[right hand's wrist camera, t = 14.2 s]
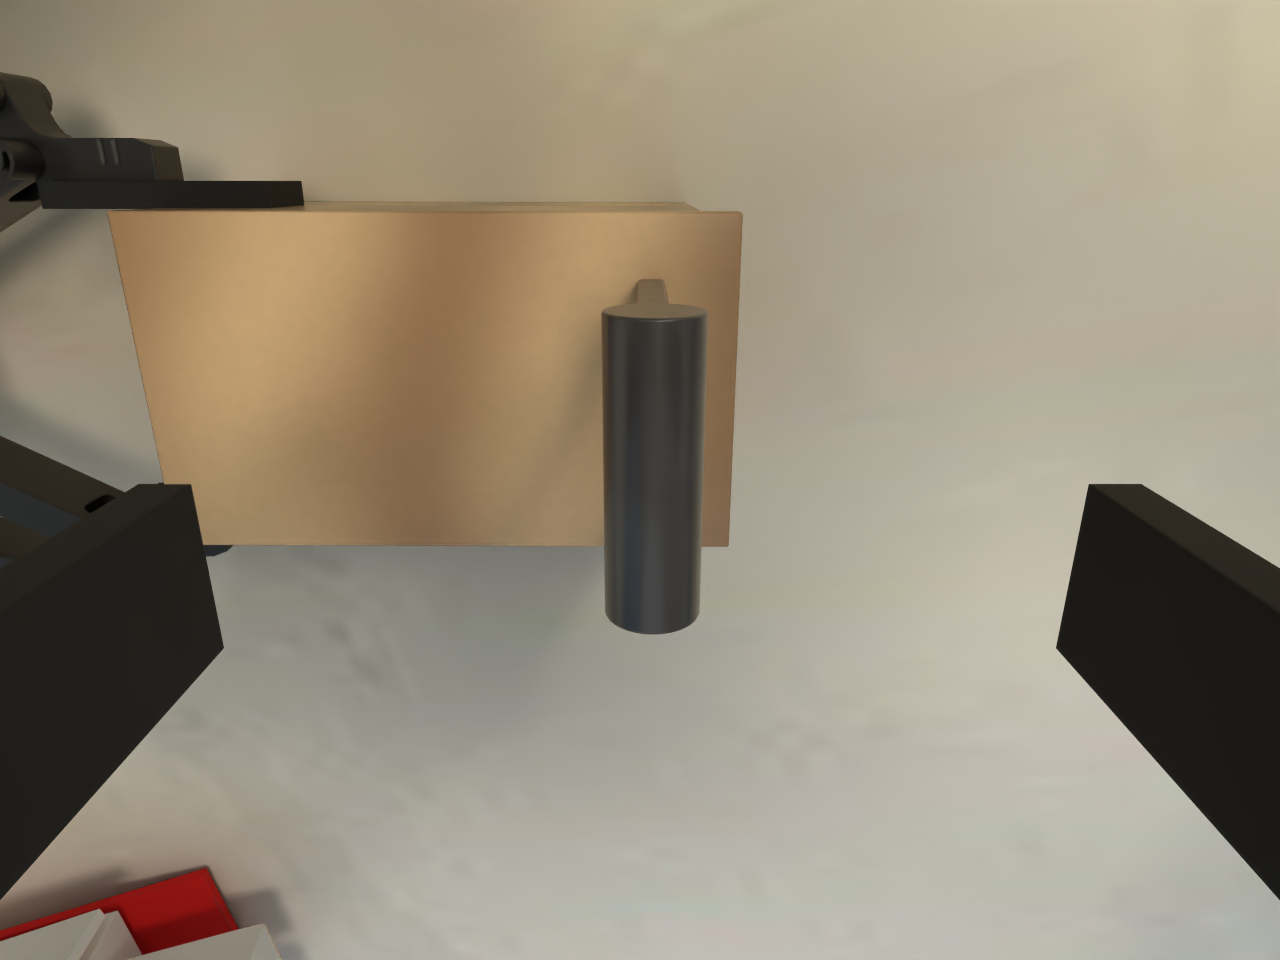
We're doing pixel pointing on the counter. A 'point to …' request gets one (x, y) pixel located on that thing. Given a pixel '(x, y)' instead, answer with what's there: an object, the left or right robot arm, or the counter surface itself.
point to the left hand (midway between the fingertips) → (308, 360)
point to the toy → (144, 928)
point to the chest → (475, 206)
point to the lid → (448, 381)
